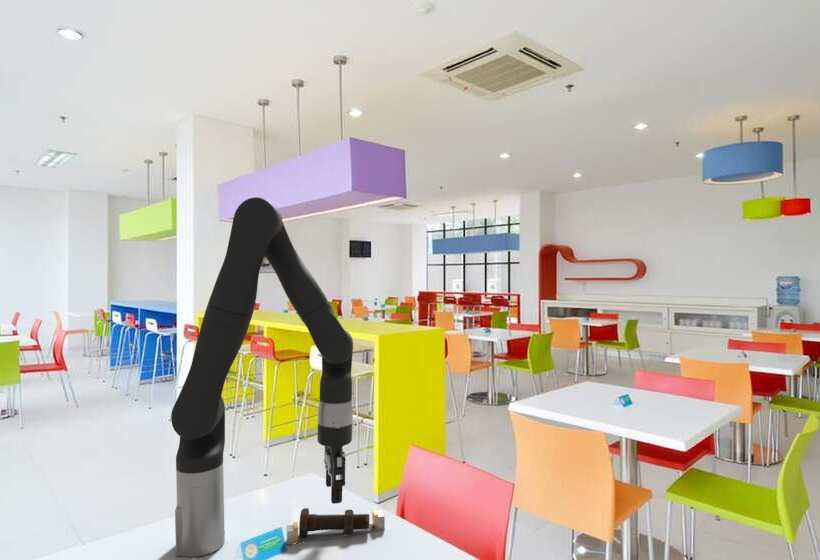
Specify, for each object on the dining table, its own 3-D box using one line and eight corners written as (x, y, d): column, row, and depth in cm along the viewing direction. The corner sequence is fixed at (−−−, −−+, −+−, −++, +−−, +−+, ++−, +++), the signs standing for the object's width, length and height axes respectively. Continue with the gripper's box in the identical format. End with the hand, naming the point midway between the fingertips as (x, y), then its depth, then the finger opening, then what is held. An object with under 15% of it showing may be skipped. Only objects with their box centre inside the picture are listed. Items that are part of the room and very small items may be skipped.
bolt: (368, 540, 111) (299, 541, 109) (369, 519, 115) (302, 520, 114) (369, 524, 108) (298, 525, 106) (369, 503, 112) (301, 504, 111)
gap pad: (298, 544, 107) (298, 542, 107) (297, 537, 110) (297, 536, 110) (374, 531, 112) (374, 529, 112) (371, 525, 114) (371, 523, 114)
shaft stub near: (287, 545, 106) (287, 529, 106) (286, 539, 109) (286, 523, 109) (298, 543, 107) (297, 527, 107) (297, 537, 109) (296, 521, 109)
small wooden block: (375, 530, 112) (374, 515, 112) (372, 525, 114) (372, 510, 114) (384, 529, 113) (384, 513, 113) (381, 523, 115) (381, 508, 115)
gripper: (314, 412, 116) (312, 482, 116) (322, 431, 102) (320, 510, 102) (346, 410, 118) (345, 479, 118) (358, 429, 104) (356, 506, 105)
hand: (333, 493), depth 110 cm, fingers open, 8 cm apart
